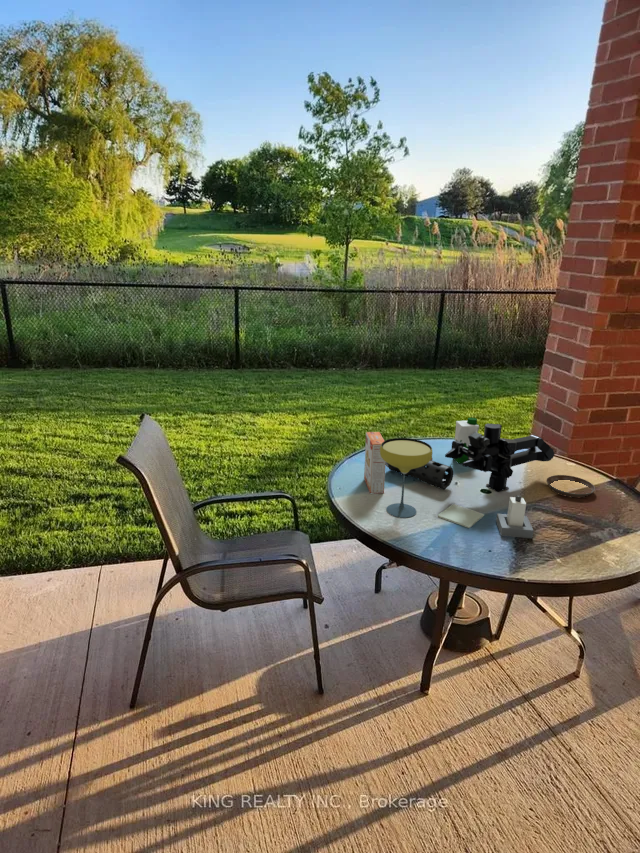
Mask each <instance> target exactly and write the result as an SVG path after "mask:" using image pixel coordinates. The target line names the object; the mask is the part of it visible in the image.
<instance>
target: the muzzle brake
mask: <svg viewBox="0 0 640 853" xmlns="http://www.w3.org/2000/svg"><path fill="white" fill-rule="evenodd" d="M385 467H386V468H388V469H389V470H390V471H392V472H395V473H398V474H399V473H400V475H401V474H402V475H401V476H403V473H402V472H401V471H400V470H399V468H397V467H394V466H392V465H390V464H388V463H387V462H386V464H385ZM454 473H455V472H454V468H453V467H452V466H450V465H447V464H444V463H441V462H437V461H434V460H432V461H431V460H430V461H429V462H428V463H427V464H426V465H424V466H421V467H418V468H414V469H411V470H410V471H409V472H408V473H406V474H405V477H406V476H407V478H408V477H411V478H413V479H416V480H418V481H419V482H423V483H425V484H427V485H429V486H431V487H435V488H438V489H440V490H441V489H442V490H447V488H448V487H449V486H450V485H451V483H452V481H453V479H454Z"/></svg>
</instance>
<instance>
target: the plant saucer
mask: <svg viewBox="0 0 640 853" xmlns="http://www.w3.org/2000/svg"><path fill="white" fill-rule="evenodd" d="M558 480H570V481H575V482H579V483H582V484H584V485H586V486H588V487H589V488H591V490H592V491H591V493H586V494H575V493H569V492H564V491H561V490H558V489H556V488H554V487H552V486H551V485H550V484H551V483H553V482H554V481H558ZM546 483H547V486H548V488H550V489H551V491H553V492H554V493H555V494H558V493H559V494H558V495H560V494H562V495H561V496H563V495H566V496H571V497H570V498H572V497H583V498H586V497H585V496H587V497H588V495H589V496H591V495H592V494H593V493H594V492H595V490H596V487H595V485H594V484H593V483H592V482H590V481H589V480H586V479H583V478H581V477H577V476H573V475H567V474H566V475H565V474H556V475H555V474H553V475H551V476H548V477H547V478H546ZM566 496H565V497H566Z"/></svg>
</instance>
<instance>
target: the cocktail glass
mask: <svg viewBox="0 0 640 853" xmlns="http://www.w3.org/2000/svg"><path fill="white" fill-rule="evenodd" d="M380 455H381V457H382V459H383V460H384V461H386V462H387V463H388V464H390V465H392V466H394V467H397V468H399V470H400V471H401V472H402V473H403V475H402V485H401V488H402V489H401V496H400V497H401V498H400V503H399V502H397V503H392V504H389V505H388V506H387V507H386V512H387V514H389V515H390V514H391V516H392V515H393V516H392V517H395V518H399V517H400V518H401V519H406V518H407V519H408V518H412V517H414V516H416V515H417V509H416V508H415V507H414V506H412V505H410V504H408V503H405V502H404V496H405V495H404V494H405V479H406V476H405V474H406V473H408V472H409V471H410V470H411V469H414V468H418V467H421V466H424V465H426V464H427V463H428V462H429V461H430V460H431V458H432V459H433V448H432V446H431V445H430V444H429V443H428V442H425V441H422V440H419V439H415V438H407V437H397V438H396V437H395V438H390V439H386V440H384V442H383V443H382V444H381V446H380Z"/></svg>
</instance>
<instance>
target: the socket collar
mask: <svg viewBox="0 0 640 853" xmlns="http://www.w3.org/2000/svg"><path fill="white" fill-rule="evenodd" d="M507 514H508V513H507ZM507 514H506V513H498V512H497V513H496V519H495V522H496V525H497V529H498V532H499V533H500V534H499V535H500V536H502V537H503V536H504V537H511V538H512V537H513V538H524V539H533V534H534V529H533V526H532V524H531V522H530V520H529V516H527V515H524V521H523V527H522V526H511V525H507V523H506V520H507Z"/></svg>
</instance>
